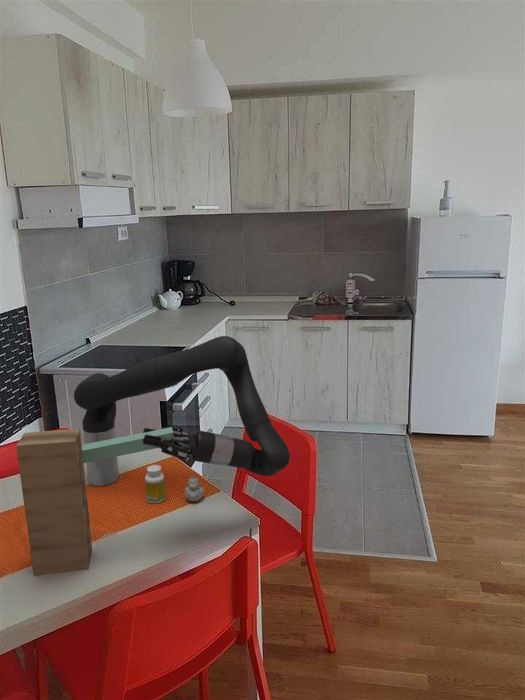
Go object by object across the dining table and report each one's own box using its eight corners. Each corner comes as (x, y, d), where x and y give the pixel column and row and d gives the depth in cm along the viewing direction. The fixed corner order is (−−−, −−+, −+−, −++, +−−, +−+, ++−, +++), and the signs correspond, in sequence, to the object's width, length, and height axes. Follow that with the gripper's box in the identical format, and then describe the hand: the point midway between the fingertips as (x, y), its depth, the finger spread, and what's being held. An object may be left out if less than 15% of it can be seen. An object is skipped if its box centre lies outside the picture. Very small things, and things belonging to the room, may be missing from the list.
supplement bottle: (161, 504, 149) (159, 473, 146) (143, 502, 150) (141, 471, 148) (168, 495, 154) (166, 464, 152) (150, 493, 155) (148, 462, 153)
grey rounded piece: (183, 504, 149) (182, 479, 147) (187, 492, 155) (185, 467, 153) (202, 504, 149) (201, 479, 147) (205, 492, 155) (204, 467, 153)
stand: (40, 556, 127) (24, 432, 119) (92, 550, 129) (80, 428, 121) (33, 575, 120) (16, 445, 112) (88, 568, 122) (75, 441, 114)
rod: (77, 458, 126) (74, 446, 125) (173, 438, 130) (171, 427, 129) (76, 464, 123) (73, 452, 122) (175, 444, 127) (172, 432, 126)
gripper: (212, 423, 138) (146, 410, 132) (221, 447, 125) (148, 434, 119) (203, 449, 139) (138, 437, 134) (212, 475, 126) (140, 463, 121)
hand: (143, 435), depth 127 cm, fingers closed on rod, 3 cm apart
